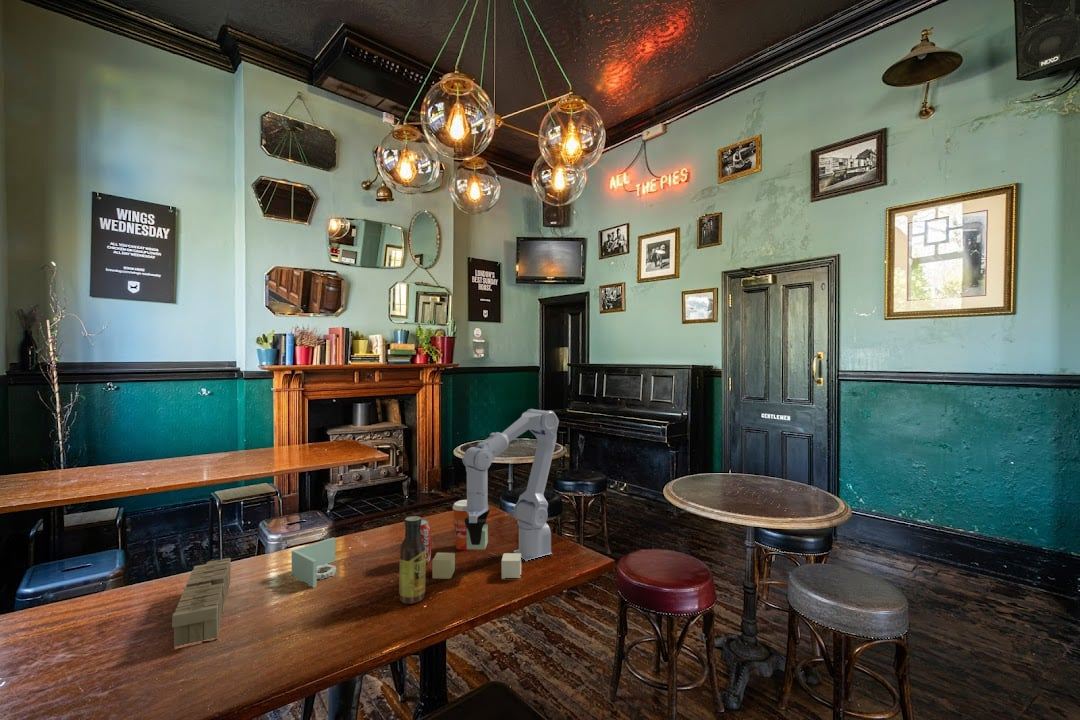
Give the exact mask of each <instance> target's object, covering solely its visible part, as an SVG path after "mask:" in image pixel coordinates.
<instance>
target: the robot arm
mask: <svg viewBox="0 0 1080 720" xmlns="http://www.w3.org/2000/svg"><path fill="white" fill-rule="evenodd" d="M559 422H560V420H559V418H558V416H557V415H556V413H555V411H553V410H543V409H534V408H529V409H527V410H526V411H524V412H523V413H522V414H521V416H520V417H519V418H518V419H517V420H515V421H514V422H513V423H512V424H511V425H509V426H508V427H507V428H506V429H504V430H503V431H501V432H499V431H496V432H491V433H489V437H488V438H486V439H484V440H482V442H481V441H480V442H477V445H476V446H471V447H469V448H468V449H466V451H465V452H464V454H463V457H462V458H461V459H462V460H461V461H462V463H463V465H464V466H465V472H466V500H467V506H464V507H463V511H467V513H468V515H469V518H465V520H464V522H465V525H466V526H467V528H468V531H469V535H470V539H471V543H472V545H479V544H480V541H481V534H482V528H483V525H484V524H486V522H487V518H488V515H489V513H490V512H491V511H490V508H489V501H488V500H489V499H488V496H489V495H488V494H489V493H488V492H489V490H488V482H489V481H488V480H489V478H488V470H489V468H490V466H491V465H492V462H493V461H494V460H495V459H496V458H497V457H499V455H501V454H502V453H503V452H504V451H506V450H508V448H509V444H510V442H512V441H513V440H515V439H516V438H518V437H519V436H521V435H522V434H524V433H526V432H528V430H529V431H530V432H531V433H532V434H533V435H534V436H535V438H536V440H537V446H536V449H535V454H534V457H533V461H532V466H531V470H530V473H529V478H528V482H527V486H526V490H525V491H524V492H523V493H521V494H519V497H518V500H517V502H516V503H515V505H514V508H513V517H514V518H515V520H517V525H518V549H515V550H513V553H521V558H522V559H521V560H523V559H524V560H525V561H524V560H523V561H524V562H529V561H528V560H530V561H532V560H531V559H534V560H536V559H535V558H538V557H542V556H545V555H550V554H552V555H553V553H552V532H551V528H550V526H549V524H548V523H547V521H548V515H549V514H548V507H549V502H548V501H547V499H546V498H545V495H544V493H545V489H546V486H547V482H548V478H549V477H548V476H549V473H550V469H551V465H552V459H553V456H554V452H555V448H556V444H557V439H558V438H557V432H558V427H559V424H560V423H559ZM550 556H551V555H550ZM542 558H543V557H542ZM538 559H539V558H538Z"/></svg>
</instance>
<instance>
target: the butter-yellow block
mask: <svg viewBox="0 0 1080 720" xmlns="http://www.w3.org/2000/svg"><path fill="white" fill-rule="evenodd" d="M455 553H456V552H436V553H435V556H434V557H433V558H432V562H431V563H432V565H431V566H432V569H431V570H432V571H431V572H432V579H443V580H444V579H447V580H449V579H452V577H453V574H454V573H455V570H456V569H455V568H456V560H455V559H456V557H455V555H456V554H455Z"/></svg>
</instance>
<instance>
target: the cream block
mask: <svg viewBox="0 0 1080 720" xmlns="http://www.w3.org/2000/svg"><path fill="white" fill-rule="evenodd" d="M500 562H501V580H506V579H505V578H520V579H521V576H522V559H521V553H514V552H512V553H511V552H506V553H503V554H502V558H501V561H500ZM520 575H521V576H520Z"/></svg>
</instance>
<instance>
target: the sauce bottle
mask: <svg viewBox="0 0 1080 720" xmlns="http://www.w3.org/2000/svg"><path fill="white" fill-rule="evenodd" d="M421 519H422V517H421V516H419V515H413V516H412V515H411V516H407V517H406V518H404V527H405V528H404V531H405V533H404V539H403V540H402V543H401V545H400V549H399V551H400V552H399V554H400V555H399V573H398V575H399V579H398V580H399V583H398V584H399V587H398V589H399V591H398V592H399V593H398V594H399V600H400V602H401V603H403V604H405V605H406V604H407V605H413V604H417V603H420V602H421V601H422V600H424V598H425V593H426V564H427V563H426V562H425V560H426V549H425V546H424V543H423V540H422V537H421Z"/></svg>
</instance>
